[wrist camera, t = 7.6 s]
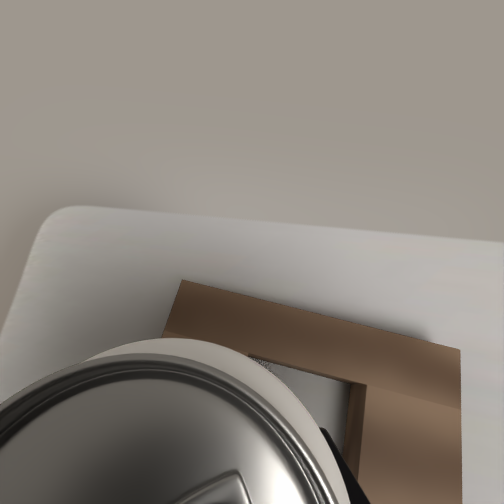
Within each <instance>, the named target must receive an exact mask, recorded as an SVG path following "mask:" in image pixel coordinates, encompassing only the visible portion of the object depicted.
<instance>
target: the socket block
mask: <svg viewBox="0 0 504 504" xmlns="http://www.w3.org/2000/svg"><path fill="white" fill-rule="evenodd" d="M161 338H183V339H194V340H200V341H205V342H210V343H214V344H217V345H221V346H224V347H226V348H229V349H232V350H234V351H236V352H239V353H241V354H243V355H245V356H247V357H252V358H256V359H259V360H263V361H267V362H271V363H274V364H278V365H282V366H286V367H289V368H293V369H297V370H300V371H304V372H308V373H312V374H315V375H319V376H323V377H327V378H330V379H334V380H338V381H341V382H345V383H349V384H351V387H350V396H349V404H348V413H347V422H346V430H345V439H344V447H343V456H342V457H343V458H344V460H345V462H346V463H347V465H348V466H349V468H350V470H351V471H352V473H353V475H354V476H355V478H356V480H357V481H358V483H359V485H360V486H361V488H362V490H363V491H364V493H365V495H366V496H367V498H368V500H369V501H370V503H371V504H462V442H461V365H460V350H459V349H455V348H451V347H447V346H443V345H439V344H435V343H432V342H428V341H424V340H420V339H416V338H412V337H408V336H404V335H400V334H396V333H392V332H388V331H384V330H380V329H376V328H372V327H368V326H364V325H360V324H356V323H352V322H348V321H344V320H340V319H336V318H333V317H329V316H325V315H321V314H317V313H313V312H309V311H305V310H301V309H297V308H293V307H289V306H285V305H281V304H277V303H273V302H269V301H265V300H261V299H257V298H253V297H249V296H245V295H241V294H237V293H234V292H230V291H226V290H222V289H218V288H214V287H210V286H206V285H202V284H198V283H194V282H190V281H186V280H182V281H181V284H180V287H179V290H178V293H177V295H176V298H175V301H174V304H173V306H172V309H171V312H170V315H169V318H168V320H167V323H166V326H165V329H164V332H163V334H162V337H161Z"/></svg>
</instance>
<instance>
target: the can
mask: <svg viewBox="0 0 504 504" xmlns="http://www.w3.org/2000/svg"><path fill="white" fill-rule="evenodd" d="M0 504H350V500H349V497H348V493H347V490H346V487H345V484H344V481H343V478H342V475H341V472H340V470H339V467H338V465H337V463H336V460H335V458H334V456H333V454H332V451H331V449H330V447H329V445H328V443H327V442H326V440H325V438H324V436H323V434H322V433H321V431H320V429H319V427H318V426H317V424H316V423H315V421H314V419H313V418H312V416H311V415H310V413H309V412H308V411H307V409H306V408H305V407H304V405H303V404H302V403H301V402H300V400H299V399H298V398H297V397H296V396H295V395H294V394H293V392H292V391H291V390H290V389H289V388H288V387H287V386H286V385H285V384H284V383H283V382H282V381H280V380H279V379H278V378H277V377H276V376H275V375H273V374H272V373H271V372H270V371H268V370H267V369H266V368H264V367H263V366H261V365H260V364H258V363H257V362H255V361H254V360H252V359H250V358H248V357H247V356H245V355H243V354H241V353H239V352H236V351H234V350H232V349H229V348H226V347H224V346H221V345H217V344H214V343H210V342H205V341H200V340H194V339H183V338H160V339H150V340H143V341H137V342H133V343H129V344H125V345H121V346H118V347H115V348H112V349H109V350H107V351H104V352H102V353H99V354H97V355H95V356H93V357H91V358H89V359H87V360H85V361H83V362H81V363H79V364H76V365H73V366H70V367H67V368H65V369H62V370H60V371H58V372H55V373H53V374H51V375H49V376H46V377H44V378H42V379H40V380H39V381H37V382H35V383H33V384H31V385H29V386H28V387H26V388H24V389H23V390H21V391H19V392H18V393H16V394H15V395H13V396H12V397H10V398H9V399H7V400H6V401H4V402H3V403H2V404H0Z"/></svg>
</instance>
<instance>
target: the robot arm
mask: <svg viewBox="0 0 504 504" xmlns="http://www.w3.org/2000/svg"><path fill="white" fill-rule="evenodd" d="M319 429H320V431H321V433H322V434H323V436H324V438H325V440H326V442H327V443H328V445H329V447H330V449H331V451H332V454H333V456H334V458H335V460H336V463H337V465H338V467H339V470H340V472H341V475H342V478H343V481H344V484H345V487H346V490H347V493H348V497H349V500H350V504H371V503H370V501H369V500H368V498H367V496H366V495H365V493H364V491H363V490H362V488H361V486H360V485H359V483H358V481H357V480H356V478H355V476H354V475H353V473H352V471H351V470H350V468H349V466H348V465H347V463H346V462H345V460H344V458H343V457H342V455H341V453H340V452H339V450H338V448H337V447H336V445H335V443H334V442H333V440H332V438H331V437H330V435H329V433H328V432H327V430H326V429H324V428H320V427H319Z"/></svg>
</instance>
